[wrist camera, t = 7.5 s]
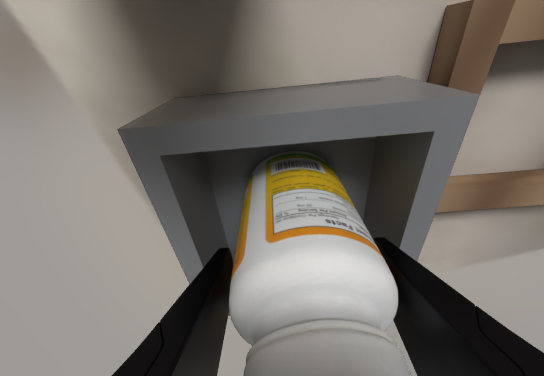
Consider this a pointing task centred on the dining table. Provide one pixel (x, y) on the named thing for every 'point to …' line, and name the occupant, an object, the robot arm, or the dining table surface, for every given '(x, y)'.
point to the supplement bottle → (310, 277)
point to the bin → (300, 137)
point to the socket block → (471, 77)
